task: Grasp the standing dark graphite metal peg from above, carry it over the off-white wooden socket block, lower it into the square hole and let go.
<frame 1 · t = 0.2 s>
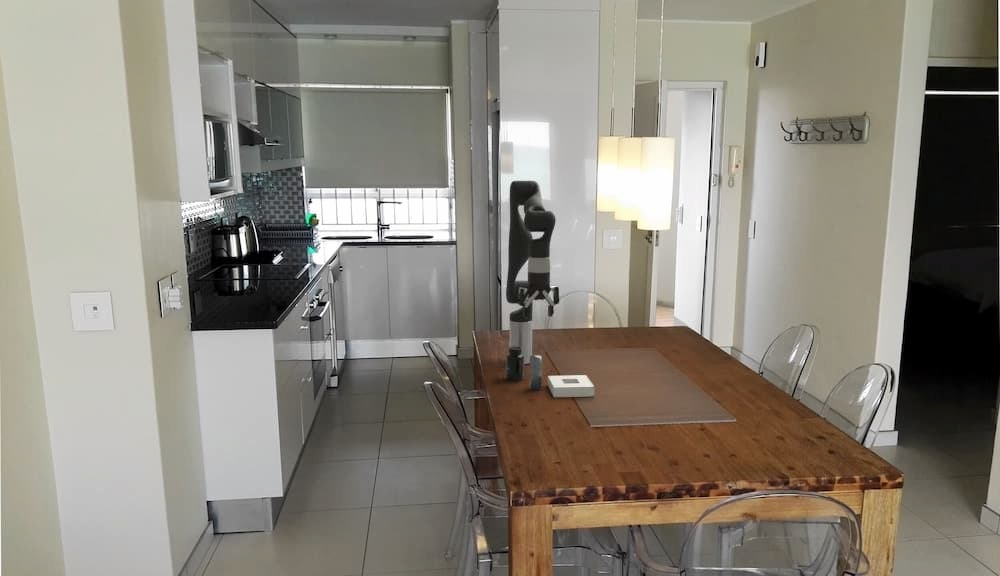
hand: (538, 317, 249), 28 cm above the table, tool pointing down, fingers open, 8 cm apart
graphite peg: (535, 388, 260), on the table
supplement bottle: (514, 379, 272), on the table
socket block: (570, 390, 258), on the table
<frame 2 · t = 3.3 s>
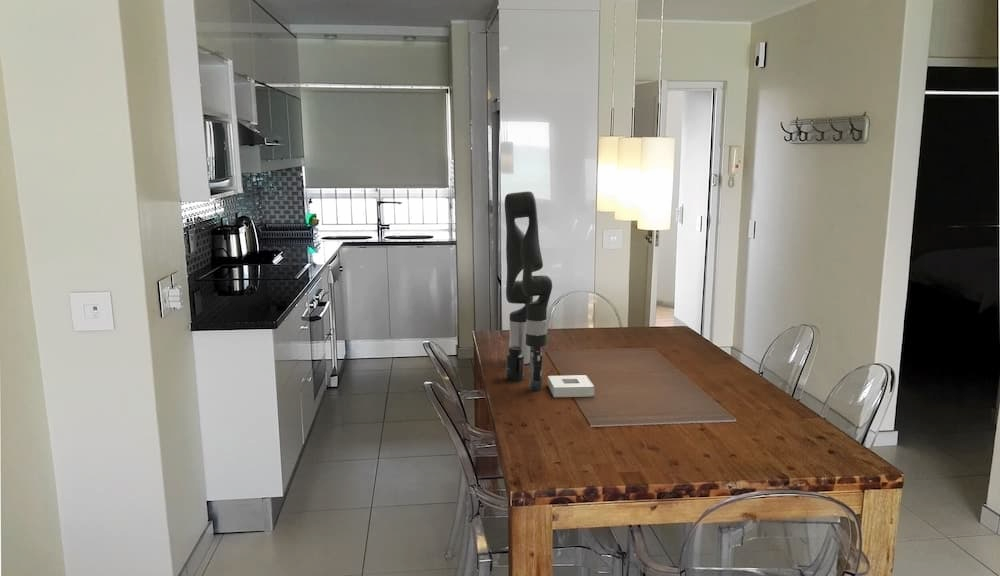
hand: (535, 378, 259), 4 cm above the table, tool pointing down, fingers closed on graphite peg, 4 cm apart
graphite peg: (535, 388, 260), on the table, touching gripper
everything else where it was.
when the fingers open (5 cm above the table, at t = 9.2 s): graphite peg stays where it is, resting on socket block.
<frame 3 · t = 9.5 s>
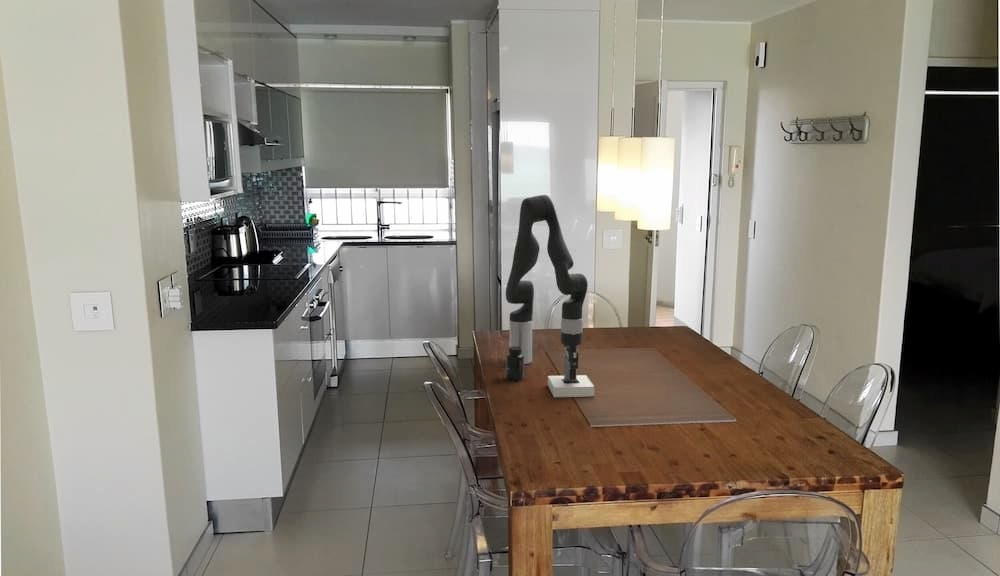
hand: (570, 376, 257), 5 cm above the table, tool pointing down, fingers open, 6 cm apart
graphite peg: (570, 389, 258), resting on socket block
everything else where it was.
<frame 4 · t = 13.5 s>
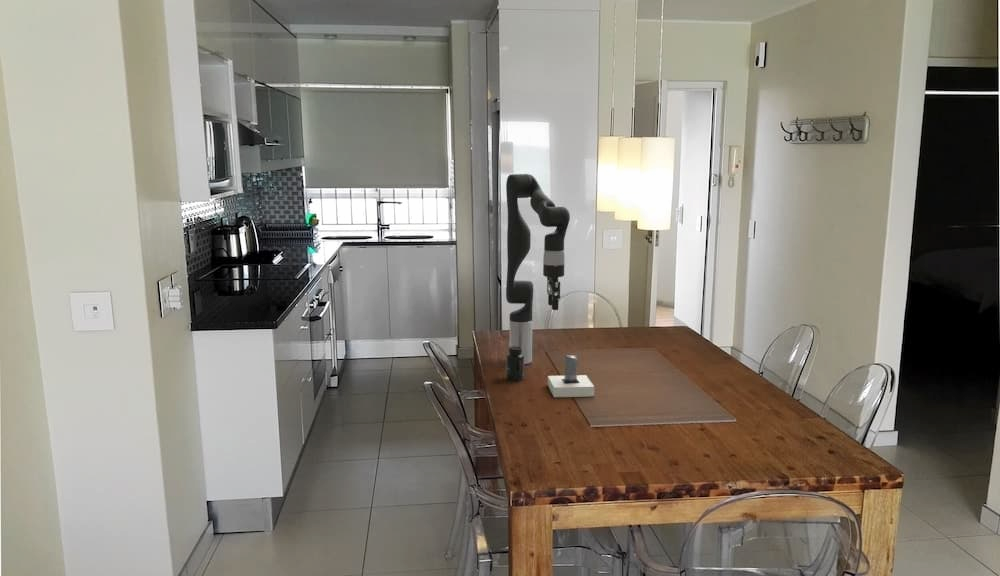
hand: (553, 307, 262), 28 cm above the table, tool pointing down, fingers open, 8 cm apart
nothing on the table moved.
at the end: graphite peg 0.2 cm off-centre on the socket block, point 0.4 cm above the socket block's base; graphite peg tilted 2°; the gripper is holding nothing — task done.
